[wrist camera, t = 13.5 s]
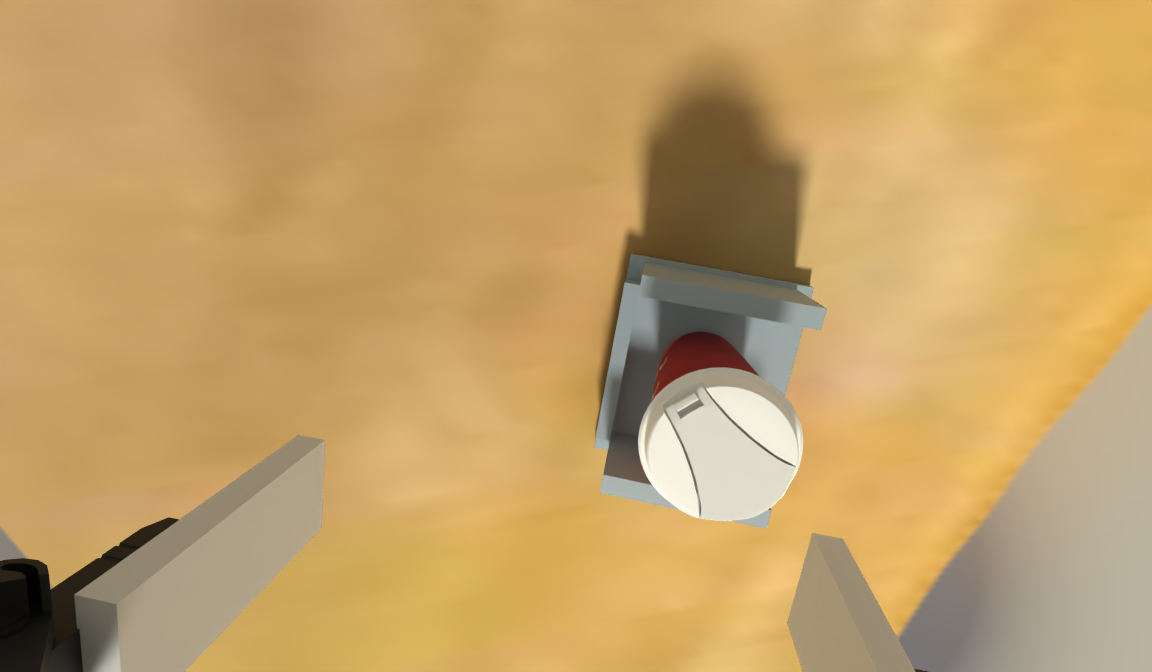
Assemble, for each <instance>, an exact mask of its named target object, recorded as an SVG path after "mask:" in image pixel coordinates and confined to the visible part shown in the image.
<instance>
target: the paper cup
mask: <svg viewBox="0 0 1152 672" xmlns="http://www.w3.org/2000/svg"><path fill="white" fill-rule="evenodd" d="M638 446H639V455H640V460H641V464H642V466H643V469H644V472H645V474H646V476H647V477H648V479H649V481H650V482H651V484H652V485H653V486H654V488H655V489H656V490H657V491H658V493H660V494H661V495H662V496H663V497H664V498H665V499H666V500H667V501H669V502H670V503H671V504H673V505H674V506H675V507H677V508H678V509H680V510H681V511H683V512H685V513H687V514H689V515H691V516H693V517H696V518H699V516H700V518H701V519H708V520H717V521H733V520H743V519H749V518H752V517H755V516H757V515H759V514H761V513H763V512H765V511H767V510H768V509H770V508H771V507H772V506H774V505H775V504H776V503H777V501H778V500H779V499H780V498H782V497H783V496H784V494H785V492H786V490H787V488H788V486H789V485H790V483H791V481H792V480H793V478H794V476H795V475H796V472H797V470H798V467H799V465H800V462H801V457H802V452H803V436H802V429H801V425H800V422H799V419H798V416H797V414H796V412H795V410H794V408H793V406H792V404H791V403H790V402H789V401H788V399H787V398H786V397H785V395H784V394H783V393H782V392H781V391H780V390H778V389H777V388H776V387H775V386H774V385H773V384H771V383H770V382H768V381H767V380H765V379H764V378H762V377H760V376H759V375H758V374H757V373H756V372H755V370H754V369H753V368H752V367H751V366H750V364H749V363H748V362H747V361H746V360H745V359H744V357H743V356H742V355H741V354H740V353H739V352H738V351H737V350H736V349H735V348H734V347H733V346H732V345H731V344H730V343H729V342H728V341H727V340H725V339H724V338H722V337H720V336H718V335H716V334H713V333H708V332H692V333H688V334H685V335H683V336H681V337H679V338H677V339H676V340H674V341H673V342H672V343H671V344H670V345H669V346H668V347H667V348H666V350H665V351H664V353H663V355H662V357H661V359H660V362H659V366H658V369H657V374H656V379H655V384H654V389H653V394H652V400H651V403H650V405H649V406H648V408H647V410H646V412H645V414H644V416H643V419H642V422H641V425H640V430H639V437H638Z"/></svg>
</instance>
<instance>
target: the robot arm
mask: <svg viewBox="0 0 1152 672" xmlns="http://www.w3.org/2000/svg"><path fill="white" fill-rule="evenodd" d="M324 450H325V440H321V439H316V438H310V437H305V436H300V435H298V436H296V437H295V438H294V439H292V440H291V441H289V442H288V443H287V444H285V445H284V446H282V447H281V448H280V449H278V450H277V451H275V452H274V453H273V454H271V455H270V456H268V457H267V458H266V459H264V460H263V461H261V462H260V463H259V464H257V465H256V466H254V467H253V468H252V469H250V470H249V471H247V472H246V473H244V474H243V475H242V476H240V477H239V478H237V479H236V480H235V481H233V482H232V483H230V484H229V485H228V486H226V487H225V488H223V489H222V490H221V491H219V492H218V493H216V494H215V495H214V496H212V497H211V498H209V499H208V500H207V501H205V502H204V503H202V504H201V505H200V506H198V507H197V508H195V509H194V510H193V511H191V512H190V513H188V514H187V515H185V516H184V517H183V518H181V519H180V520H179V519H174V518H166V519H164V520H161V521H159V522H156V523H154V524H151V525H149V526H146V527H144V528H141V529H140V530H138V531H137V532H135V533H134V534H132V535H131V536H129V537H128V538H127V539H125V540H124V541H122V542H121V543H120V545H119V546H115V547H113V548H112V549H110V550H109V551H107V552H106V553H104V554H103V555H102V557H101V558H97V559H95V560H94V561H92V562H91V563H90V564H88V565H87V566H85V567H84V568H82V569H81V570H79V571H78V572H76V573H75V574H73V575H72V576H70V577H69V578H67V579H66V580H64V581H63V582H61V583H60V584H58V585H57V586H55V587H54V588H53V589H51V590H50V582H49V573H48V568H47V565H45V564H44V563H42V562H40V561H39V560H33V559H25V558H21V559H11V560H3V561H0V672H185V671H186V670H187V669H188V668H189V667H190V666H191V665H192V664H193V663H194V661H195V660H196V659H197V658H198V657H199V656H200V655H201V654H202V653H203V652H204V651H205V650H206V649H207V648H208V647H209V646H210V645H211V644H212V643H213V642H214V641H215V639H216V638H217V637H218V636H219V635H220V634H221V633H222V632H223V631H224V630H225V629H226V628H227V627H228V626H229V625H230V624H231V623H232V622H233V621H234V620H235V619H236V617H237V616H238V615H239V614H240V613H241V612H242V611H243V610H244V609H245V608H246V607H247V606H248V605H249V604H250V603H251V602H252V601H253V600H254V599H255V598H256V597H257V596H258V594H259V593H260V592H261V591H262V590H263V589H264V588H265V587H266V586H267V585H268V584H269V583H270V582H271V581H272V580H273V579H274V578H275V577H276V576H277V575H278V574H279V572H280V571H281V570H282V569H283V568H284V567H285V566H286V565H287V564H288V563H289V562H290V561H291V560H292V559H293V558H294V557H295V556H296V555H297V554H298V553H299V552H300V550H301V549H302V548H303V547H304V546H305V545H306V544H307V543H308V542H309V541H310V540H311V539H312V538H313V537H314V536H315V535H316V534H317V533H318V532H319V531H320V530H321V528H322V503H323V477H324ZM787 624H788V627H789V630H790V633H791V636H792V639H793V643H794V646H795V649H796V652H797V655H798V658H799V662H800V665H801V668H802V671H803V672H927V671H922V670H917V669H914V668H913V666H912V664H911V662H910V661H909V659H908V657H907V655H906V653H905V651H904V650H903V648H902V646H901V644H900V642H899V640H898V639H897V637H896V635H895V633H894V631H893V630H892V628H891V626H890V624H889V622H888V620H887V619H886V617H885V615H884V613H883V611H882V609H881V608H880V606H879V604H878V602H877V600H876V598H875V597H874V595H873V593H872V591H871V589H870V588H869V586H868V584H867V582H866V580H865V578H864V577H863V575H862V573H861V571H860V569H859V567H858V566H857V564H856V562H855V560H854V558H853V557H852V555H851V553H850V551H849V549H848V547H847V546H846V544H845V542H844V540H843V539H841V538H836V537H830V536H825V535H820V534H815V533H812V536H811V540H810V543H809V547H808V550H807V554H806V558H805V561H804V565H803V568H802V572H801V575H800V579H799V583H798V586H797V590H796V593H795V597H794V600H793V604H792V608H791V611H790V615H789V618H788V622H787Z"/></svg>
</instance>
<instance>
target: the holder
mask: <svg viewBox="0 0 1152 672" xmlns="http://www.w3.org/2000/svg"><path fill="white" fill-rule="evenodd" d="M813 289H814V288H813V287H811V286H809V285H803V284H798V283H792V282H787V281H781V280H776V279H770V278H765V277H759V276H754V275H748V274H743V273H737V272H731V271H726V270H720V269H715V268H709V267H704V266H698V265H693V264H687V263H682V262H676V261H671V260H665V259H659V258H654V257H648V256H643V255H637V254H632V253H631V255H630V261H629V266H628V271H627V277H626V280H625V283H624V289H623V294H622V299H621V305H620V310H619V315H618V321H617V326H616V331H615V337H614V342H613V347H612V353H611V358H610V363H609V368H608V374H607V379H606V384H605V390H604V395H603V400H602V406H601V411H600V416H599V422H598V427H597V432H596V441H595V446H594V447H596V448H601V449H605V450H608V453H607V458H606V463H605V469H604V474H603V479H602V485H601V490H600V493H604V494H609V495H613V496H618V497H623V498H627V499H632V500H637V501H641V502H646V503H650V504H655V505H660V506H664V507H669V508H673V509H678V508H677V507H675V506H674V505H673V504H671V503H670V502H669V501H667V500H666V499H665V498H664V497H663V496H662V495H661V494H660V493H658V491H657V490H656V489H655V488H654V486H653V485H652V484H651V482H650V481H649V479H648V477H647V476H646V474H645V472H644V469H643V466H642V464H641V460H640V455H639V446H638V437H639V430H640V425H641V422H642V419H643V416H644V414H645V412H646V410H647V408H648V406H649V405H650V403H651V400H652V394H653V389H654V384H655V379H656V374H657V369H658V366H659V362H660V359H661V357H662V355H663V353H664V351H665V350H666V348H667V347H668V346H669V345H670V344H671V343H672V342H673V341H674V340H676V339H677V338H679V337H681V336H683V335H685V334H688V333H692V332H708V333H713V334H716V335H718V336H720V337H722V338H724V339H725V340H727V341H728V342H729V343H730V344H731V345H732V346H733V347H734V348H735V349H736V350H737V351H738V352H739V353H740V354H741V355H742V356H743V357H744V359H745V360H746V361H747V362H748V363H749V364H750V366H751V367H752V368H753V369H754V370H755V372H756V373H757V374H758V375H759V376H760V377H762V378H764V379H765V380H767V381H768V382H770V383H771V384H773V385H774V386H775V387H776V388H777V389H778V390H780V391H781V392H782V393H783V394H784V395H785V394H786V390H787V386H788V383H789V379H790V375H791V371H792V368H793V364H794V360H795V356H796V353H797V349H798V345H799V341H800V338H801V334H802V330H803V327H806V328H812V329H817V330H821V328H822V325H823V321H824V317H825V314H826V310H827V309H826V308H825V307H823V306H822V305H820V304H819V303H817V302H816V301H814V300H812V299H811V296H812V293H813ZM678 510H680V509H678ZM770 514H771V508H770V509H768V510H767V511H765V512H763V513H761V514H759V515H757V516H755V517H752V518H749V519H743V520H733V521H734V522H738V523H743V524H747V525H752V526H757V527H761V528H766V529H767V525H768V521H769V518H770Z"/></svg>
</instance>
